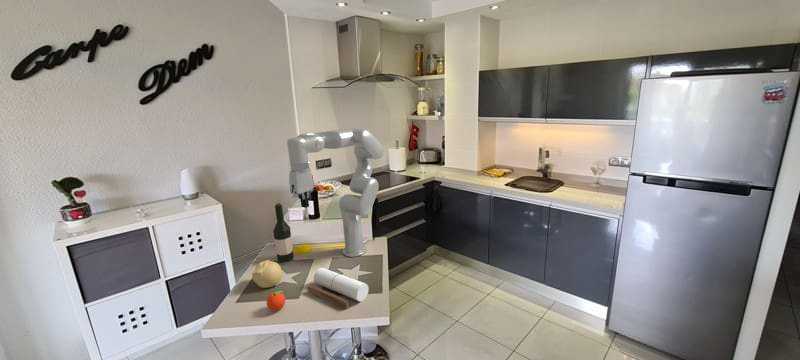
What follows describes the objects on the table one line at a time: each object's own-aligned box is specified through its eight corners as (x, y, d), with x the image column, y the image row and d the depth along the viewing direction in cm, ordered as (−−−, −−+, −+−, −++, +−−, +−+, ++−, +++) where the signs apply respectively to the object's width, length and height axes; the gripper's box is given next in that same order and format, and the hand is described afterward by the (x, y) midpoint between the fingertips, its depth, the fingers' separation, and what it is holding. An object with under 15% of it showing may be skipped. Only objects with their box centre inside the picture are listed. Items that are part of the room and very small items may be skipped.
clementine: (282, 300, 136) (280, 284, 134) (292, 306, 131) (290, 290, 129) (264, 310, 130) (261, 294, 128) (273, 316, 125) (271, 300, 124)
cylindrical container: (318, 286, 146) (361, 304, 132) (311, 277, 142) (354, 295, 128) (328, 273, 150) (370, 289, 137) (321, 264, 146) (364, 280, 132)
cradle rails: (330, 278, 150) (329, 272, 150) (367, 292, 138) (367, 286, 138) (308, 292, 140) (307, 286, 139) (346, 309, 128) (345, 302, 127)
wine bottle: (289, 263, 166) (281, 207, 158) (274, 262, 167) (265, 206, 160) (297, 255, 173) (290, 201, 166) (283, 254, 175) (275, 201, 167)
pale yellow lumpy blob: (261, 277, 154) (257, 256, 151) (286, 276, 154) (283, 255, 151) (250, 291, 143) (246, 269, 140) (278, 290, 143) (274, 268, 140)
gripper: (306, 162, 148) (311, 200, 153) (279, 169, 136) (286, 211, 141) (318, 163, 144) (323, 202, 149) (292, 171, 132) (298, 213, 137)
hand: (305, 206), depth 145 cm, fingers closed
